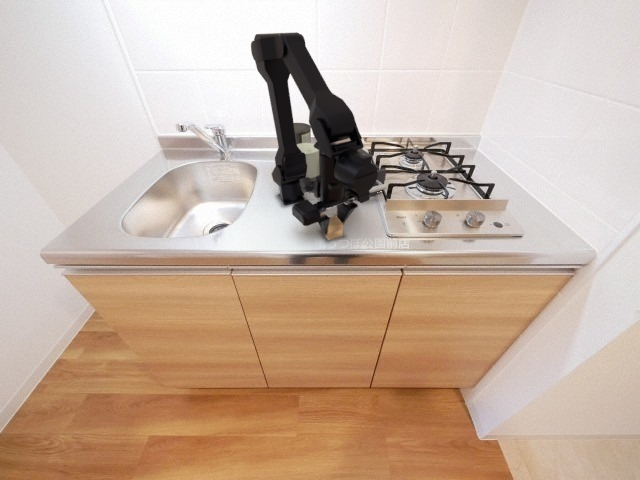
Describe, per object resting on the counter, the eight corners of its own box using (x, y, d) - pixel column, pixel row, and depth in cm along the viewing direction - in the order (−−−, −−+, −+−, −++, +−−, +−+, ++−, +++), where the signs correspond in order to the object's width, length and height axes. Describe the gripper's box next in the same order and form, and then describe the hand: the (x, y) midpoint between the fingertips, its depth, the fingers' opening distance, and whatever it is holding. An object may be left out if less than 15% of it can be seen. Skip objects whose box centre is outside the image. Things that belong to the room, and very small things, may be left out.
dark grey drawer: (392, 199, 75) (396, 176, 70) (358, 208, 71) (360, 185, 66) (360, 174, 87) (362, 153, 83) (331, 180, 84) (331, 159, 79)
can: (302, 190, 81) (299, 154, 73) (289, 179, 87) (285, 145, 79) (326, 183, 85) (326, 147, 77) (312, 172, 91) (310, 139, 83)
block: (328, 240, 62) (328, 227, 60) (321, 231, 65) (321, 218, 63) (342, 236, 63) (343, 223, 61) (335, 227, 66) (336, 215, 64)
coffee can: (290, 174, 90) (286, 133, 81) (281, 163, 97) (277, 125, 88) (316, 168, 93) (315, 128, 84) (306, 158, 101) (304, 121, 91)
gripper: (343, 151, 62) (341, 204, 73) (276, 171, 55) (284, 227, 65) (375, 167, 55) (367, 223, 66) (302, 192, 48) (307, 252, 58)
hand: (332, 230), depth 64 cm, fingers closed on block, 4 cm apart
